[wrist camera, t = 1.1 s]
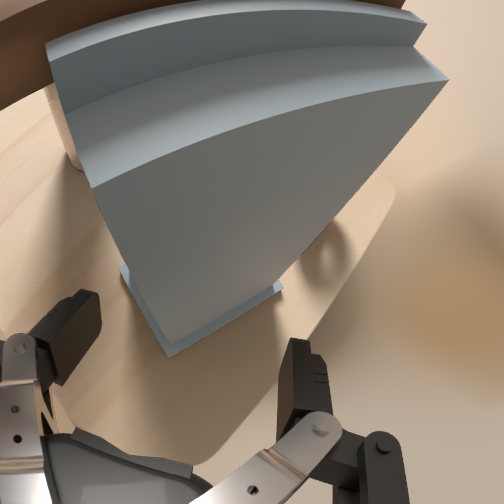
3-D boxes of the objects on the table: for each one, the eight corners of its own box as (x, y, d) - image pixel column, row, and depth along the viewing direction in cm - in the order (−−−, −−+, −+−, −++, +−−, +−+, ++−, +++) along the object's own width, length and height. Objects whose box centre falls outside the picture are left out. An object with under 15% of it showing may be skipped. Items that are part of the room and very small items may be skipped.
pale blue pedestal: (120, 271, 36) (10, -10, 6) (229, 214, 42) (314, -47, 11) (168, 358, 33) (20, 217, 3) (281, 290, 39) (488, 74, 9)
